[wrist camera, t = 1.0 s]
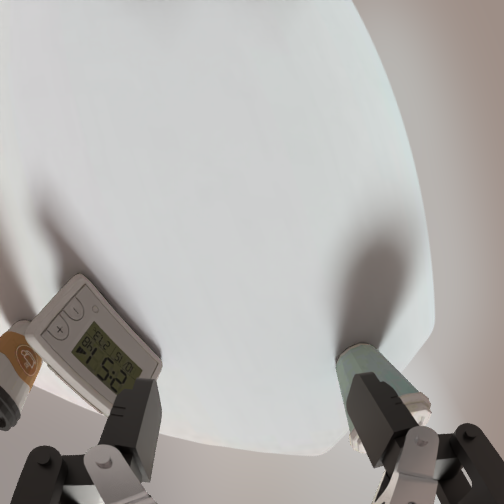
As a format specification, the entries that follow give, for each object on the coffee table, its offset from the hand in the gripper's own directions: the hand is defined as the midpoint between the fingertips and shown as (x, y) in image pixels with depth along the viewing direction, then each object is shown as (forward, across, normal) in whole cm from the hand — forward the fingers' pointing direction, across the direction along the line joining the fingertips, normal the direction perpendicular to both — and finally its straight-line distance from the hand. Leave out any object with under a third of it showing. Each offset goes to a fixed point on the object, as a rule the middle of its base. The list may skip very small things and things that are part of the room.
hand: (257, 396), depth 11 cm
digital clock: (+22, +15, +10) cm, 29 cm away
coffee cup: (+22, +29, +13) cm, 39 cm away
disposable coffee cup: (+24, -17, +17) cm, 34 cm away
